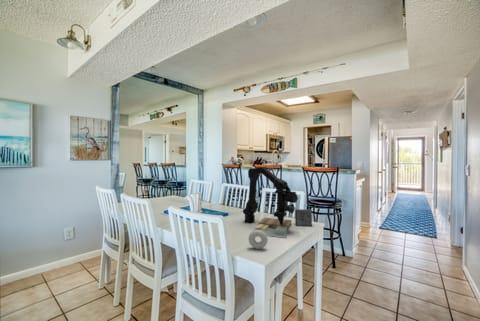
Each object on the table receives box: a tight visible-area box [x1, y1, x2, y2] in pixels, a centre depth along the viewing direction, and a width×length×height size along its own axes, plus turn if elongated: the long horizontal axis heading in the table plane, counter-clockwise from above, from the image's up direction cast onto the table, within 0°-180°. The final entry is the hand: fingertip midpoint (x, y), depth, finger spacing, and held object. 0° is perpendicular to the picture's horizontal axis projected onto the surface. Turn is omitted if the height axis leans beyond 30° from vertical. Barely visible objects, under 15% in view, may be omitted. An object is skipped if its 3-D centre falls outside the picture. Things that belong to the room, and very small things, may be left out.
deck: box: [258, 217, 292, 231], centre depth 159 cm, size 20×14×3 cm
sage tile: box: [275, 226, 287, 234], centre depth 147 cm, size 6×8×2 cm
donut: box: [248, 229, 269, 250], centre depth 120 cm, size 10×4×10 cm, turn 80°
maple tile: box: [255, 224, 269, 231], centre depth 151 cm, size 6×8×2 cm
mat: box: [252, 227, 290, 239], centre depth 145 cm, size 22×14×1 cm, turn 69°
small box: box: [294, 208, 313, 227], centre depth 161 cm, size 11×6×10 cm, turn 84°
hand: (281, 224), depth 149 cm, fingers closed
